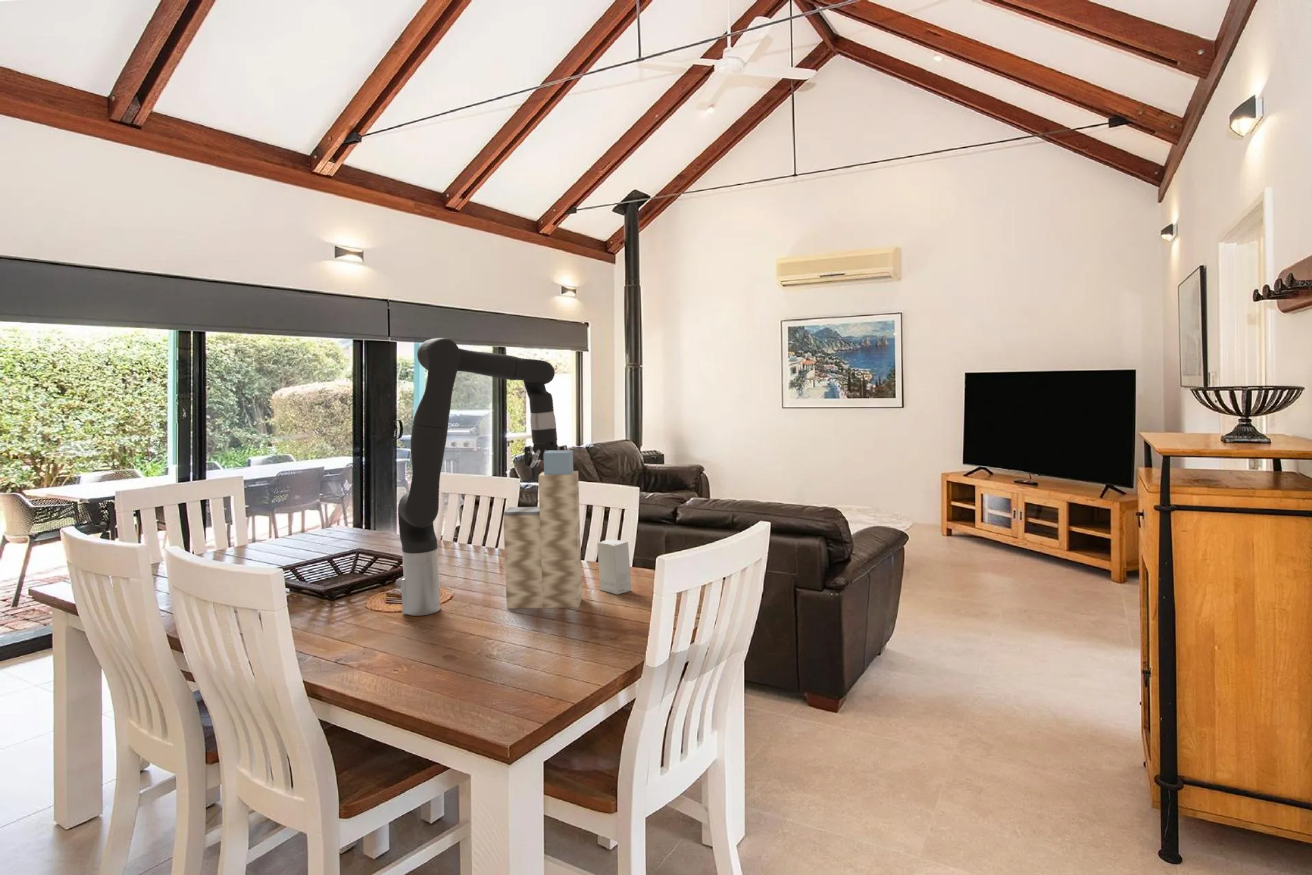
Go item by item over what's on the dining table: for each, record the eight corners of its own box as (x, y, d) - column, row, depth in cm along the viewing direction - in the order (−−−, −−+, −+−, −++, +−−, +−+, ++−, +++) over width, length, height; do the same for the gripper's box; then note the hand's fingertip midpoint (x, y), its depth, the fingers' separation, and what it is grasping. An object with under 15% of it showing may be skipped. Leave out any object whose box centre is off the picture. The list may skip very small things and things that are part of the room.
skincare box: (631, 591, 215) (630, 541, 214) (616, 595, 211) (615, 545, 210) (613, 585, 221) (612, 537, 220) (597, 589, 217) (596, 540, 216)
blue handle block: (544, 475, 198) (543, 453, 198) (554, 467, 215) (553, 447, 214) (569, 474, 198) (569, 452, 198) (577, 466, 215) (577, 446, 214)
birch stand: (506, 608, 201) (501, 476, 198) (512, 600, 209) (507, 472, 206) (578, 607, 201) (575, 474, 198) (581, 598, 209) (578, 471, 205)
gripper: (516, 429, 220) (521, 481, 222) (557, 428, 214) (562, 482, 216) (530, 426, 227) (535, 477, 229) (570, 424, 221) (574, 477, 223)
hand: (548, 479), depth 222 cm, fingers open, 8 cm apart
